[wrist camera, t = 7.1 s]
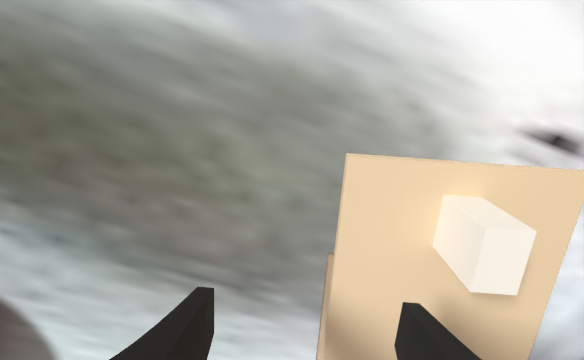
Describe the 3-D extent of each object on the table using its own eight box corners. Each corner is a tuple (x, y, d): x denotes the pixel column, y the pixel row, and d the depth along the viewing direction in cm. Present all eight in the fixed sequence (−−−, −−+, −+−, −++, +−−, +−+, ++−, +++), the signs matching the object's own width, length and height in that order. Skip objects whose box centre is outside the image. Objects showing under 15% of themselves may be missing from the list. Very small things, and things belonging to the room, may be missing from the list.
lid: (510, 383, 21) (566, 463, 16) (320, 369, 21) (325, 445, 16) (583, 170, 17) (685, 201, 12) (346, 153, 17) (362, 177, 12)
